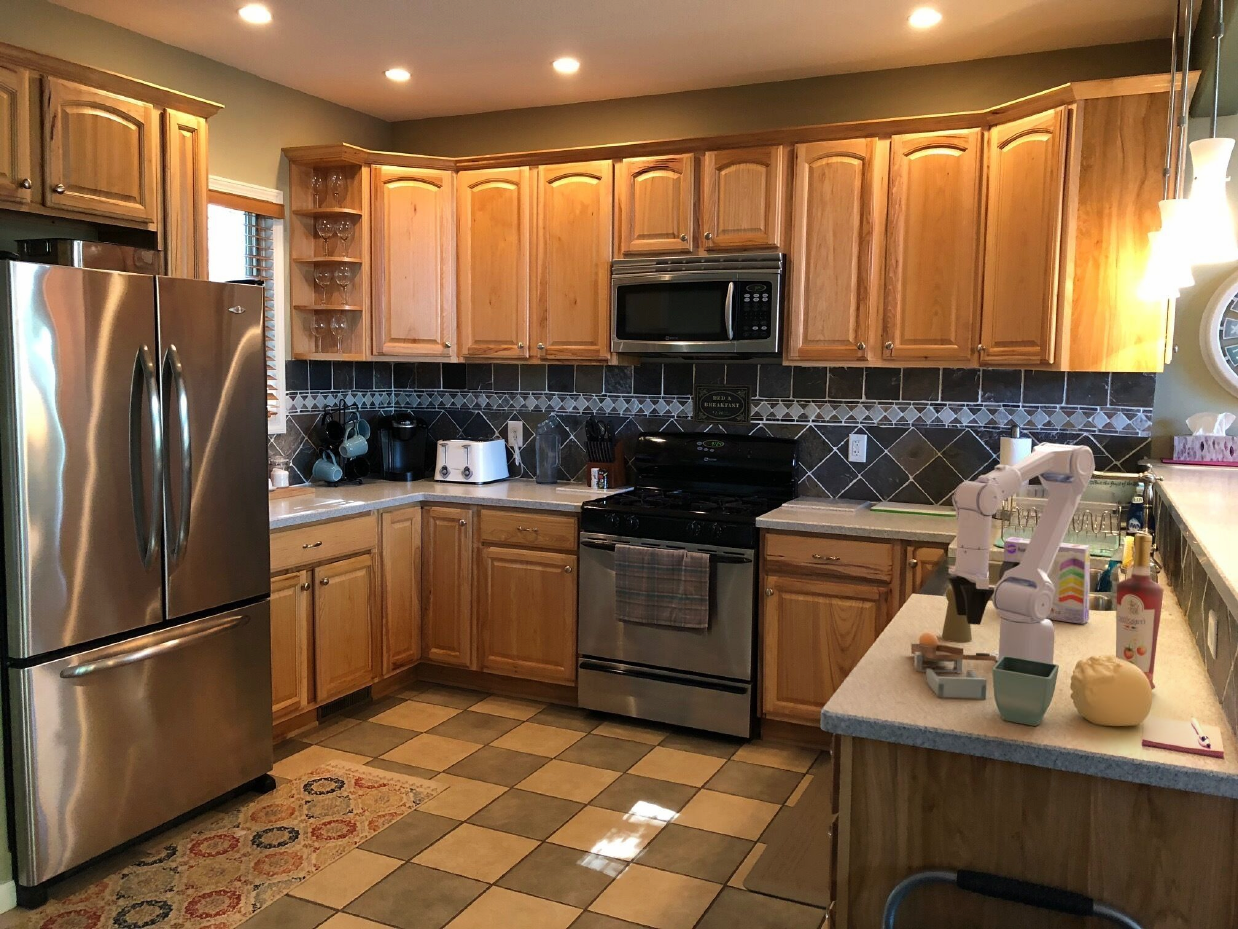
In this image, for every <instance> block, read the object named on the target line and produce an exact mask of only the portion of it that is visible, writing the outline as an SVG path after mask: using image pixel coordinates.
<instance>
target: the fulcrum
mask: <svg viewBox="0 0 1238 929" xmlns="http://www.w3.org/2000/svg"><path fill="white" fill-rule="evenodd" d="M922 656H923V655H922V654H921V652H915V654H914V662H913V670H915V671H916V672H917V673H926V672H927V669H932V670H933V672H934V673H940V672H957V673H956V674H963V662H964V661H963V660H955V662H953V666H952V665H951V666H949V665H948V666H946V665H945V666H944V665H923V660H922ZM958 672H959V673H958Z"/></svg>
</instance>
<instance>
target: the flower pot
mask: <svg viewBox="0 0 1238 929" xmlns="http://www.w3.org/2000/svg"><path fill="white" fill-rule="evenodd" d="M1059 667H1060V665H1059V664H1056V663H1053V664H1051V663H1045V662H1039V661H1033V660H1027V659H1022V658H1016V657H1010V656H1002V657H1001V658H1000V660H999V661H998V662H996V664H995V665H994V666H993V667H992V668H991V669H992V684H993V686H992V687H993V696H994V701H995V704H996V708H997V710H998V712H999V714H1000V716H1001V717H1002V719H1003V720H1004V721H1007V722H1012V723H1017V724H1022V725H1026V726H1027V725H1028V726H1032V727H1036V726H1038V725H1039V724H1040V722H1041V721H1042V719H1043V717H1044V716H1045V714H1046V712H1047V710H1048V709H1049V707H1050V705H1051V703H1052V700H1053V697H1054V693H1055V690H1056V685H1057V680H1058V673H1059V669H1060V668H1059Z"/></svg>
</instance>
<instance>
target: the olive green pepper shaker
mask: <svg viewBox="0 0 1238 929" xmlns="http://www.w3.org/2000/svg"><path fill="white" fill-rule="evenodd" d="M945 598H946V600H947V607H946V612H945V617H944V623H943V627H942V633H941V638H942V639H943V640H946V641H948V640H949V642H953V643H954V642H955V643H969V642H972V641H973V638H972V627H971V625H972V624H968V622H967V618H966V616H964V615H957V611H956V605H955V598H954V593H953V589H952V586H950V587H948V588H947V589H946V591H945Z"/></svg>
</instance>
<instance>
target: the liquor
mask: <svg viewBox="0 0 1238 929" xmlns="http://www.w3.org/2000/svg"><path fill="white" fill-rule="evenodd" d="M1152 543H1153V536H1152V535H1149V534H1139V533H1138V534H1137V533H1135V534H1134V552H1135V553H1134V559H1133V564H1132V571H1131V577H1129V578H1125V579H1122V580H1121V581H1120V582H1118V583H1117V584H1116V605H1115V606H1116V608H1115V609H1116V611H1115V615H1116V616H1115V617H1116V619H1115V621H1116V626H1115V628H1116V629H1115V637H1116V640H1115V641H1116V642H1115V657H1117V658H1119V659H1122V660H1125V661H1128V662H1130V663H1132V664H1134V665H1135V666H1137V667H1138V668H1139V669H1140V670H1141V671H1142V672H1143V673H1144V674H1145V675H1146V677H1147V679H1148V680H1149V683H1150V685H1151V689H1152V691H1153V690H1154V689H1155V688H1156V685H1155V683H1154V681H1153V680H1154V672H1155V661H1156V653H1157V643H1158V636H1159V631H1160V624H1161V623H1160V622H1161V615H1162V608H1163V607H1162V605H1163V598H1164V597H1163V596H1164V588H1163V587H1162V586H1161V585H1160V584H1159V583H1158V582H1155V581H1153V580H1152V579H1151V559H1150V558H1151V557H1150V556H1151V555H1150V553H1151V550H1152V549H1151V548H1152V545H1153V544H1152Z"/></svg>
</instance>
